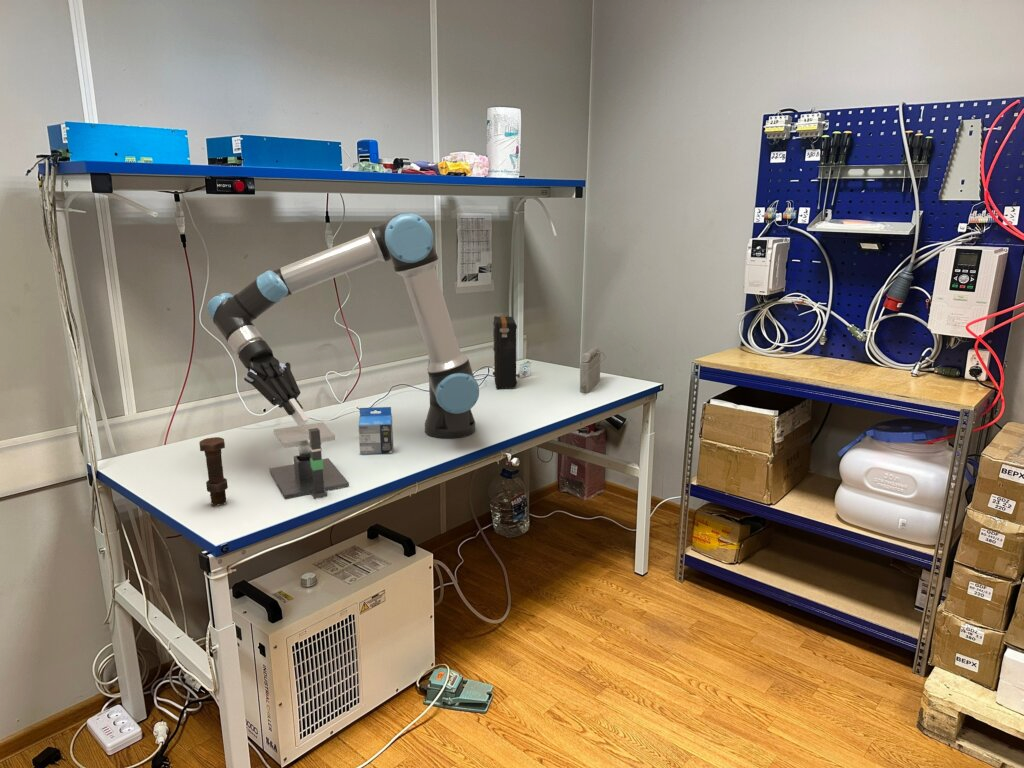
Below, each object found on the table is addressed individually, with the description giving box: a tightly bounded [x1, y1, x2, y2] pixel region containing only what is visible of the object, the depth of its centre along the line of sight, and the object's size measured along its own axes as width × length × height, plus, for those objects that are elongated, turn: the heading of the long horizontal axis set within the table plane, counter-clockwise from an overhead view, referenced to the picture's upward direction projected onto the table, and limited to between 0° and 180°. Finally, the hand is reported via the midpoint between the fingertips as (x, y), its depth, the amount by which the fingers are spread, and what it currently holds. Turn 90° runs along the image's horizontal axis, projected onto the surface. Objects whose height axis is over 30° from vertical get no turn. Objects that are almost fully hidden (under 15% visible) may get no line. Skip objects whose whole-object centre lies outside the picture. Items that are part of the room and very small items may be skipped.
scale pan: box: [273, 422, 336, 461], centre depth 167 cm, size 12×16×7 cm
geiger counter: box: [579, 345, 606, 394], centre depth 252 cm, size 14×6×25 cm
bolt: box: [199, 436, 229, 507], centre depth 155 cm, size 6×5×15 cm
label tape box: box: [358, 406, 394, 455], centre depth 188 cm, size 9×4×12 cm, turn 95°
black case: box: [492, 315, 518, 390], centre depth 256 cm, size 16×9×25 cm, turn 4°
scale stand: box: [268, 428, 350, 500], centre depth 167 cm, size 15×22×16 cm
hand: (304, 422), depth 167 cm, fingers closed
